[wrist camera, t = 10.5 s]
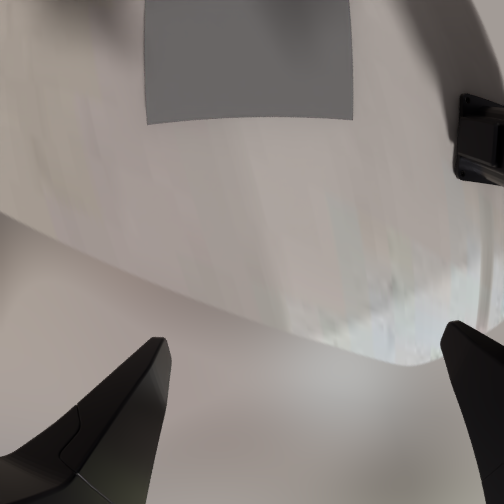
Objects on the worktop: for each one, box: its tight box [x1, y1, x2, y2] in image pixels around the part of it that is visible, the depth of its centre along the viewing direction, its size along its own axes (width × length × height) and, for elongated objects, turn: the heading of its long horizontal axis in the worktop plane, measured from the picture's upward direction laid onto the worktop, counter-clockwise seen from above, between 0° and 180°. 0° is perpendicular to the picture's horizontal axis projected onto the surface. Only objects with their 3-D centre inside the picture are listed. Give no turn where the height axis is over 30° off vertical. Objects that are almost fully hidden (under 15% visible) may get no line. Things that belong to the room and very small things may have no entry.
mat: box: [144, 0, 353, 125], centre depth 14 cm, size 12×12×1 cm
